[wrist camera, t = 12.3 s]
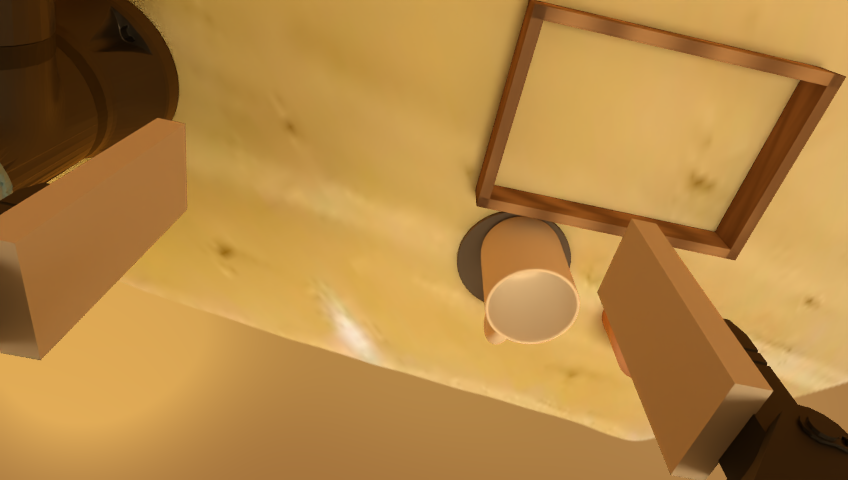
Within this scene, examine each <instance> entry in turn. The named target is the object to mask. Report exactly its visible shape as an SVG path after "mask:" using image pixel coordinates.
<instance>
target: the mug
mask: <svg viewBox="0 0 848 480" xmlns="http://www.w3.org/2000/svg"><path fill="white" fill-rule="evenodd" d="M481 267H482V279H483V291H484V303H485V318H484V332H485V336H486V338H487V340H488V341H489V342H490V343H492V344H500V343H503V342H504V341H505V340H507V339H508V340H510V341H513V342H517V343H522V344H537V343H543V342H547V341H550V340H552V339H555V338H557V337H558V336H560V335H562V334H563V333H564V332H566V331H567V330H568V329H569V328H570V327H571V326H572V324H573V323H574V322H575V320H576V318H577V316H578V312H579V308H580V299H579V295H578V292H577V289H576V286H575V283H574V280H573V278H572V275H571V272H570V269H569V266H568V263H567V260H566V257H565V254H564V252H563V249H562V246H561V243H560V240H559V238H558V236H557V235H556V233H555V232H554V230H553V229H552V228H551V227H550V226H549V225H547V224H546V223H545V222H543V221H541V220H538V219H536V218H531V217H513V218H509V219H506V220H504V221H502V222H500V223H498V224H497V225H496V226H494V227H493V228H492V229H491V230H490V231H489V232H488V234H487V235H486V237H485V239H484V241H483V244H482V248H481Z"/></svg>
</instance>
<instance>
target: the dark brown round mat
mask: <svg viewBox="0 0 848 480" xmlns="http://www.w3.org/2000/svg"><path fill="white" fill-rule="evenodd" d="M513 217H526V216H521V215H517V214H512V213H507V212H499V213H496V214H493V215H490V216H488V217H486V218H484V219H482V220H481V221H479V222H478V223H477V224H475V225H474V226H473V227H472V228H471V229H470V230H469V231H468V232H467V234H466V235H465V237H464V238H463V240H462V242H461V244H460V247H459V251H458V258H457V265H458V272H459V275H460V278H461V280H462V282H463V284H464V285H465V287H466V288H467V289H468V290H469V292H471V293H472V294H473V295H474V296H475V297H477V298H478V299H480V300H482V301H483V302H484V291H483V279H482V267H481V248H482V244H483V241H484V239H485V237H486V235H487V234H488V232H489V231H490V230H491V229H492V228H493V227H494V226H496V225H497V224H498V223H500V222H502V221H504V220H506V219H509V218H513ZM538 220H541V219H538ZM541 221H543V222H545V223H546V224H547V225H549V226H550V227H551V228H552V229H553V230H554V232H555V233H556V235H557V236H558V238H559V240H560V243H561V246H562V249H563V252H564V254H565V257H566V260H567V263H568V266H569V268H570V263H571V253H570V247H569V244H568V241H567V239H566V237H565V235H564V233H563V232H562V231H561V229H560V228H559V227H558V226H557V225H556V224H555V223H554V222H550V221H545V220H541Z"/></svg>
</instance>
